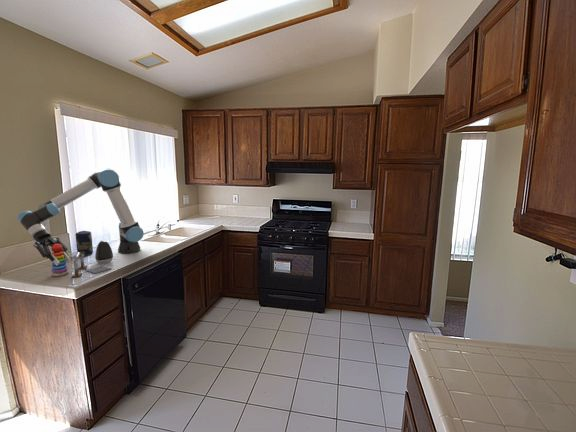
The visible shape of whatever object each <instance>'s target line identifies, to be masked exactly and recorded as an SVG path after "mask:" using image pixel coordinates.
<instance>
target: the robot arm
mask: <svg viewBox="0 0 576 432" xmlns="http://www.w3.org/2000/svg"><path fill="white" fill-rule="evenodd" d="M121 187H122V184H121V180H120V176H119V174H118V172H117V171H115V170H114V169H112V168H101V169H98V170H96V171H95V172H94V173H92V174H91V175H88V176H87V179H85V180H84V181H82V182H80V183H78V184H77V185H74V186H73V187H71V188H70V189H67V191H64V192H62V193H60V194H58V195H57V196H55V197H53V198H52V199H50V200H48V201H47V202H44V203H42V204H40V205H39V206H38V209H37V210H34V211H32V210H25V211H22V212H20V213H19V214H17V220H18V221H19V222H20V224H21V225H22V226H23V228H24V229H25V230H26V231H27V232H28V233H29V234H30V236H31V237H32V238H33V240H34V241H35V242H34V244H32V245H33V247H34V248H36V250H37V251H38V252H39V254H40V255H41V256H42V258H44V259H45V258H46V259H49V260H50V262H52V261H53V262H54V263H55V265H56V266H58V265H59V263H60V262H59V261H58V260H57V258H56V257H55V256H54V255H53V254H52V253H51V250H50V247H51V248H52V246H53V245H54V244H60V245H62V250H61V251H62V252H63V254H62V255H64V258H65V261H66V263H70V261H71V258H70V257H69V254H68V253H67V251H68V247H67V246H66V245H65V244H64V243H63V242H62V241H61V240H60V238H59V237H56V238H54V237H52V235H51V233H50V232H49V231H48V230H47V228H46V227H45V226H44V225H43V223H44V222H45V221H47V220H49V219H51V218H53V217H54V216H55V217H56V216H57V215H59V214H60V213H61V210H60V209H62V208H64V207H65V206H68V205H69V204H71V203H73V202H75V201H76V200H78V199H80V198H81V197H83V196H85V195H86V194H88V193H90V192H92V191H93V190H95V189H97V190H98V189H100V188H101V189H102V191H103V192H105V193H106V194H107V196H108V198H109V201H110V202H111V206H112V207H113V209H114V211H115V214H116V216H117V218H118V220H119V223H118V232H119V233H118V234H119V245H118V249H117V253H118V254H120V255H121V254H123V255H127V254H128V255H129V254H134V253H138V252H140V251H141V246H140V244H139V242H140V241H141V240H142V239H143V237H144V234H145V232H144V229H143V228H142V227H141V226H140V225H139V222H138V220H136V219H135V218H134V216H133V214H132V211H131V210H130V207H129V205H128V203H127V201H126V199H125V195H124V193H123V192H122V190H121ZM53 262H52V263H53Z"/></svg>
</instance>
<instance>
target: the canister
mask: <svg viewBox="0 0 576 432" xmlns="http://www.w3.org/2000/svg"><path fill="white" fill-rule="evenodd" d="M75 241H76V242H75V243H76V253H77V252H79V253H81V254H83V257H85V256H91V255H92V254H94V248H93V236H92V232H91V231H89V230H81V231H78V232H76V233H75Z"/></svg>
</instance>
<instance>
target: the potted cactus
mask: <svg viewBox="0 0 576 432" xmlns="http://www.w3.org/2000/svg"><path fill="white" fill-rule="evenodd" d="M113 258H114V254H113V250H112V248H111V246H110V243H109V242H108V241H107V240H100V241H99V242H98V244H97V246H96V249H95V260H96V262H97V263H98V264H100V265H106V264H109V263H111V262H112V261H113Z"/></svg>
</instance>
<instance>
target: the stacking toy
mask: <svg viewBox="0 0 576 432" xmlns="http://www.w3.org/2000/svg"><path fill="white" fill-rule="evenodd" d="M51 250H52V253H51V255H52V254H53V255H54V256H55V257H56V258H57V260H58V261H59V262H60V263H59V265H58V266H56V265H55V263H54V262H53V261H51V262H52V264H51V265H52V266H51V272H52V273H51V276H52V277H63V276H66V275H68V274H69V268H68V264H67V261H66V260H65V258H64V255H62V254H63V252H62V251H61V250H62V245H60V244H54V245H53V246H52V247H51Z"/></svg>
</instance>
